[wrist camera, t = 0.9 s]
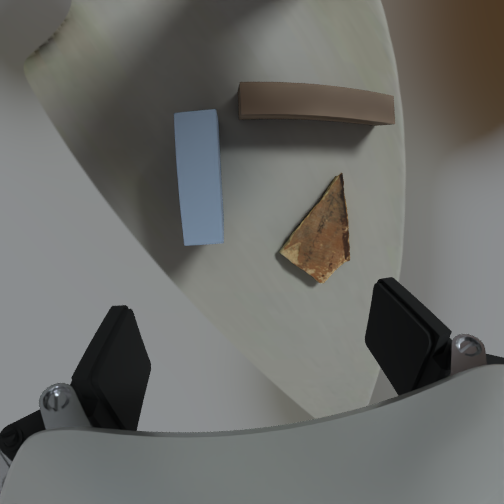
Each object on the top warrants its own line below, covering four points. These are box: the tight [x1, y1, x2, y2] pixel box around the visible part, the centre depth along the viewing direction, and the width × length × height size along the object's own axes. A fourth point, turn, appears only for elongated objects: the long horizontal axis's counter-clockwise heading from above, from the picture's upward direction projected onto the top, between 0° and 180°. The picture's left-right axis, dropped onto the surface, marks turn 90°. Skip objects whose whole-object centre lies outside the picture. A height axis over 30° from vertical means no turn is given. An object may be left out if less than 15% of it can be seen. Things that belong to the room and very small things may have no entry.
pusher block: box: [174, 109, 224, 246], centre depth 23 cm, size 3×10×8 cm, turn 2°
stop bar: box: [238, 82, 395, 126], centre depth 23 cm, size 3×15×4 cm, turn 92°
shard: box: [280, 173, 350, 283], centre depth 30 cm, size 11×8×2 cm
